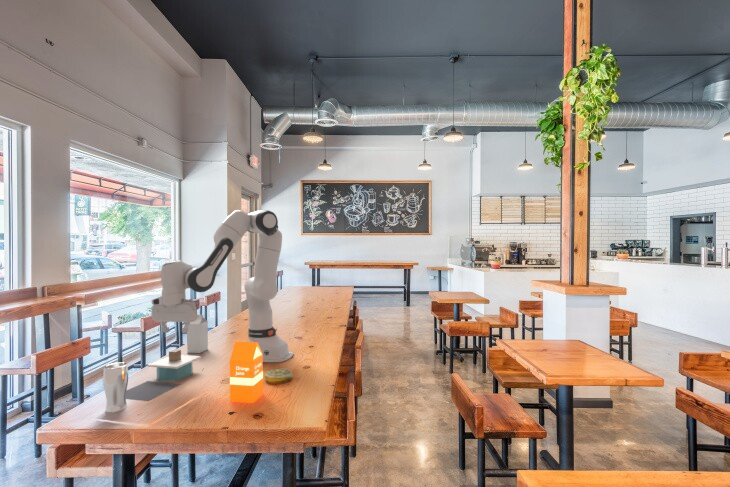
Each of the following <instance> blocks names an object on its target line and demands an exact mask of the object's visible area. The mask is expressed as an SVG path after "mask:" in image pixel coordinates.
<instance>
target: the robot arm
mask: <svg viewBox="0 0 730 487" xmlns="http://www.w3.org/2000/svg"><path fill="white" fill-rule="evenodd" d="M278 220H279V219H278V217H277V215H276V213H274V212H273V211H271V210H267V209H263V210H262V209H260V210H259V209H258V210H255V211H250V212H245V211H244V210H241V209H236V210H234V211H233V212H232V213H230V214H229V215H228V216H227V217H226V218H225V219H224V220H223V221H222V223H221V224H220V225H218V227H217V229H216V230H215V233H214V235H213V241H214V247H213V250H212V252H211V253H210V254H209V255H208V257H207V259H206V260H205V261H204V262H203V264H202V265H200V266H195V265H191V264H188V263H185V262H184V261H183V260H181V259H180V260H178V259H177V260H173V261H168V262H165V263H164V264H163V265H162V266H161V272H160V282H161V286H162V289H161V290H162V291H161V296H158V297H155V298H154V299H152V300H151V305H152V306H151V320H152V321H153V322H159V324H160V326H161V328H162V332H163V333H167V332H170V326H168V325H167V323H168V322H169V323H176V322H177V323H183V325H184V326H183V327H182V328H181V333H183V334H184V333H186V334H187V332H188V327H189V325H190V322H194V321H196V320H197V318H198V315H199V314H198V310H197V305H196V301H194V300H193V299H191V298H190V299H186V289H191V290H193V291H194V292H196V293H205V292H207V291H209V290H211V289H212V287H213V286H214V284H215V281H216V276H217V274H218V271H219V270H220V269H221V267H222V265H223V264H224V262H225V261H226V259H227V258H228V257H229V254H230V253H231V252H232V251H233V249H234V248H235V247H236V246H237V245H238V243H239V242H240V241H241V240H242V239H243V237H244V236H245V234H246V233H247V232H249V233H252V234H259V242H258V243H259V244H258V247H257V250H256V256H255V260H254V266H255V267H254V276H252V277H250V278H248V279H247V280H246V281H245V284H244V292H245V296H246V302H247V307H248V318H249V319H248V323H249V325H248V326H249V328H248V332H247V334H248V335H247V336H248V342H257V343H258V345H259V347H260V350H261V352H262V355H263V363H283V362H286V361H288V360H290V359H291V358H292V357H294V352H293V351H289V346H288V343H287V341H285V340H284V339H282V338H281V337H280V336H279V335H278V334H277V331H278V328H275V327H274V325H273V321H274V320H273V309H272V307H271V302H270V301H272V300H273V299H274V298H276V296H277V295H278V290H279V289H278V283H277V281H278V280H277V276H278V275H277V272H278V266H279V260H280V255H281V251H282V245H283V234H282V231H280V230H279V225H278V224H279V223H278V222H279V221H278Z"/></svg>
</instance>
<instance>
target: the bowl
mask: <svg viewBox="0 0 730 487" xmlns="http://www.w3.org/2000/svg"><path fill="white" fill-rule="evenodd" d="M193 362H194V361H193ZM193 362H191V363H189V364H187V365H184V366H182V367H180V368H178V369H172V368H159V367H156V379H157V380H158V381H159V382H163V381H164V382H170V381H172V382H173V381H178V380H181V379H186V378H188V377H189V376H191V375H192V374H193V372H194V371H193V370H194V368H193V365H194V363H193Z"/></svg>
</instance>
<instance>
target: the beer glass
mask: <svg viewBox="0 0 730 487" xmlns="http://www.w3.org/2000/svg"><path fill="white" fill-rule="evenodd" d="M102 375H103V376H102V381H103V382H102V383H103V384H102V385H103V389H104V394H105V399H106V405H105V406H106V407H105V413H118V412H120V411H123V410H125V409H126V408H127V407H128V404H127V399H126V390H128V385H129V384H128V383H129V368H128V362H125V361H123V362H121V361H120V362H114V363H109V364H106V365H104V366H103V374H102Z"/></svg>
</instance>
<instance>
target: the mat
mask: <svg viewBox="0 0 730 487" xmlns="http://www.w3.org/2000/svg"><path fill="white" fill-rule="evenodd" d="M181 385H182V384H181V383H174V382H173V383H172V382H166V381H164V382H163V381H155V380H154V381H152V380H147V381H145V382H142V383H140V384H137V385H136V386H133V387H131V388H129V389H127V390H126V400H132V401H133V400H134V401H142V402H143V401H144V402H149V401H152V400H153V399H155V398H157V397H160V396H161V395H163V394H164V393H165V394H166V393H167V392H169V391H171V390H173V389H175V388H176V387H179V386H181Z"/></svg>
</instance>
